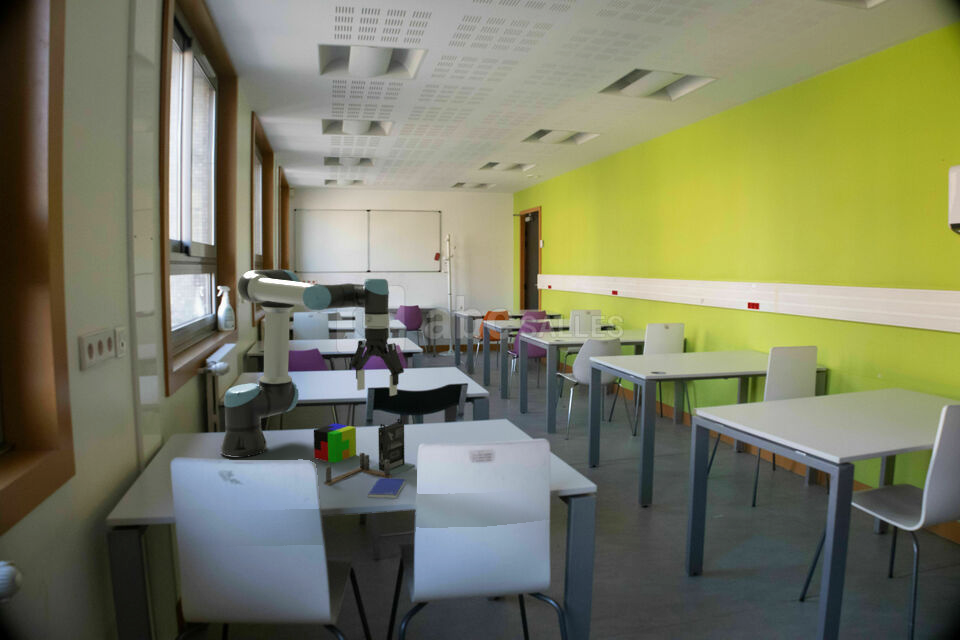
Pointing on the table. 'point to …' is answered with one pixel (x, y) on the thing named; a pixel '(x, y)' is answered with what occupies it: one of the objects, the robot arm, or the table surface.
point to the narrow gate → (374, 472)
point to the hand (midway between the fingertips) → (376, 392)
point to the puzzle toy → (334, 442)
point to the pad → (395, 470)
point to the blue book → (386, 488)
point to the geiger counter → (391, 445)
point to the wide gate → (343, 476)
